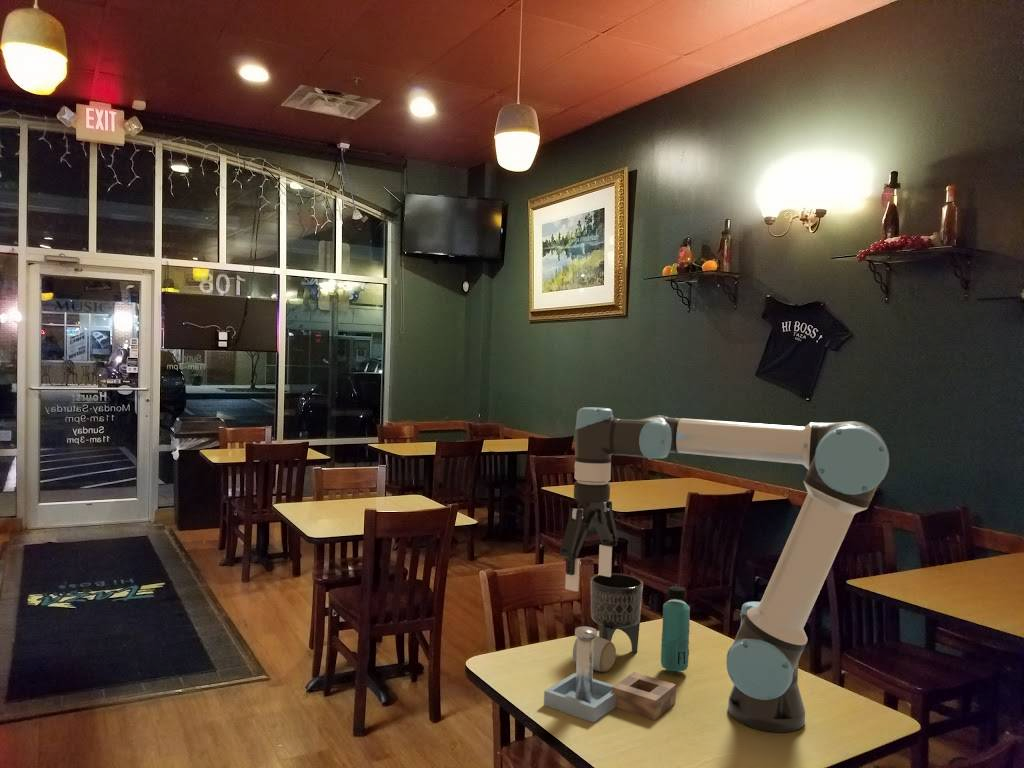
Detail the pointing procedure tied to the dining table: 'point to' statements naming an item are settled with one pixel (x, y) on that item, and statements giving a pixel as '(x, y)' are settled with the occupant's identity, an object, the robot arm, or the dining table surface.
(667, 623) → the beverage bottle
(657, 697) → the block
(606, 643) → the ceramic mug
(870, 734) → the dining table surface
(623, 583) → the planter
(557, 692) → the tray
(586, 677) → the pin
